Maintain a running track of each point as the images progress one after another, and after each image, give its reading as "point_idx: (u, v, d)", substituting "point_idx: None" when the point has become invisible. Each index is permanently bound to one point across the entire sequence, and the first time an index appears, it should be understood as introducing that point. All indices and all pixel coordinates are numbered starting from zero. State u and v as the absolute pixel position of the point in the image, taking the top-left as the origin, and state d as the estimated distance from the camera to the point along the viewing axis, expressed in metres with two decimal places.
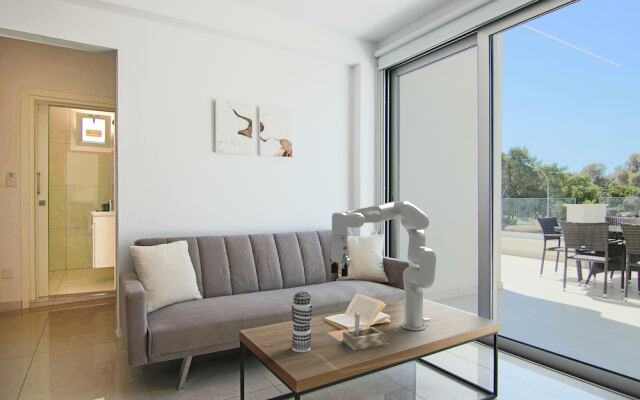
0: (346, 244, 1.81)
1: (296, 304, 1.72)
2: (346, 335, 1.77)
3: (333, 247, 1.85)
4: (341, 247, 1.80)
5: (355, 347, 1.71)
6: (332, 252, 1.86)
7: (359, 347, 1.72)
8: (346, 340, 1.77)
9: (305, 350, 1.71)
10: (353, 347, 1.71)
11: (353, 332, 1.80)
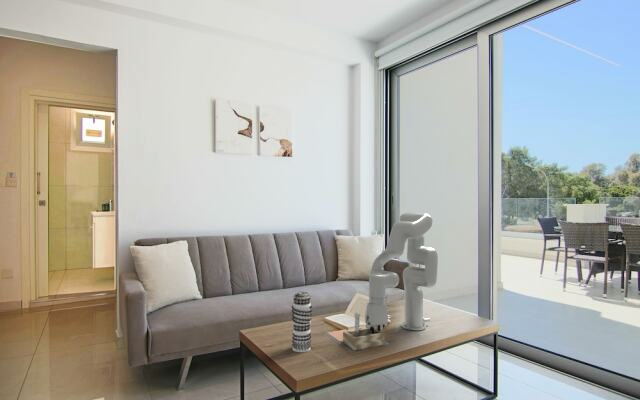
0: None
1: (296, 304, 1.72)
2: (346, 335, 1.77)
3: (377, 311, 1.79)
4: (386, 307, 1.82)
5: (355, 347, 1.71)
6: (375, 316, 1.78)
7: (359, 347, 1.72)
8: (346, 340, 1.77)
9: (305, 350, 1.71)
10: (353, 347, 1.71)
11: (353, 332, 1.80)
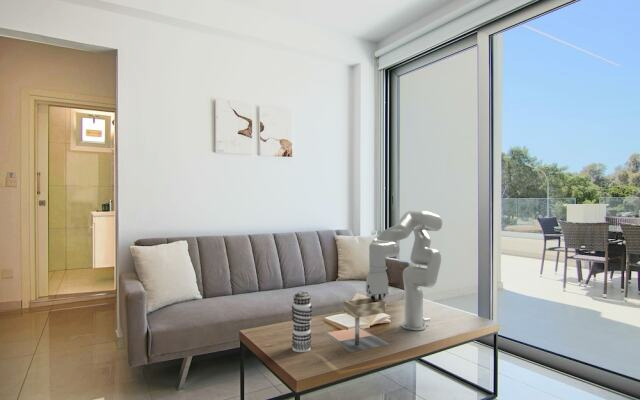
0: None
1: (296, 304, 1.72)
2: (347, 304, 1.77)
3: (378, 279, 1.79)
4: None
5: (356, 315, 1.71)
6: (375, 285, 1.78)
7: (360, 315, 1.72)
8: (347, 309, 1.77)
9: (305, 350, 1.71)
10: (354, 315, 1.71)
11: (354, 301, 1.80)
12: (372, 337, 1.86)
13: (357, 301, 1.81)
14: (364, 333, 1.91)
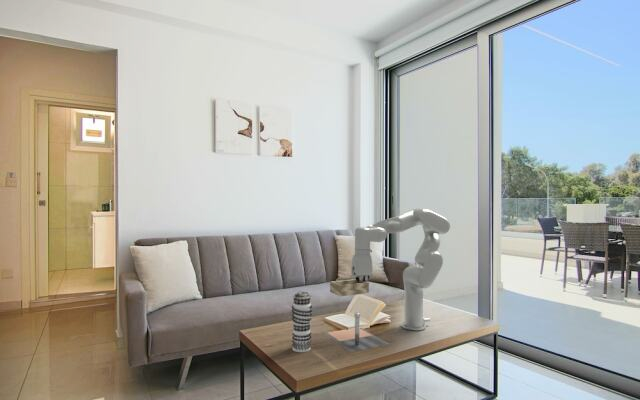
0: None
1: (296, 304, 1.72)
2: (333, 284, 1.88)
3: (362, 262, 1.90)
4: (371, 259, 1.94)
5: (341, 294, 1.82)
6: (360, 267, 1.90)
7: (344, 294, 1.83)
8: (332, 289, 1.88)
9: (305, 350, 1.71)
10: (339, 294, 1.83)
11: (340, 282, 1.92)
12: (372, 337, 1.86)
13: (343, 282, 1.92)
14: (364, 333, 1.91)
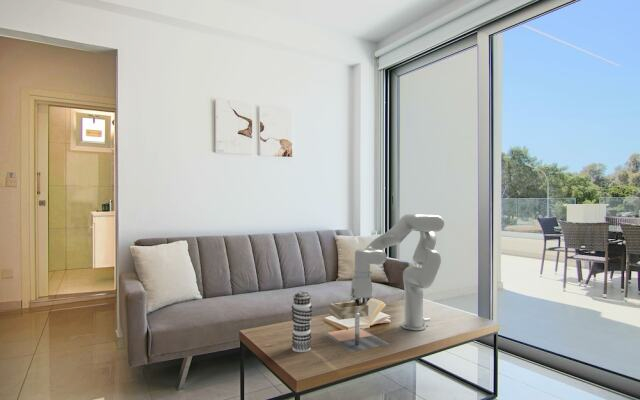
0: None
1: (296, 304, 1.72)
2: (332, 306, 1.88)
3: (362, 284, 1.90)
4: None
5: (340, 317, 1.82)
6: (359, 289, 1.90)
7: (344, 317, 1.83)
8: (332, 312, 1.88)
9: (305, 350, 1.71)
10: (338, 317, 1.83)
11: (339, 304, 1.92)
12: (372, 337, 1.86)
13: (342, 304, 1.92)
14: (364, 333, 1.91)
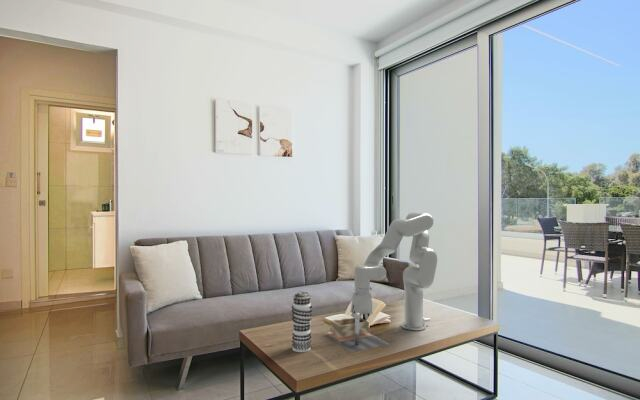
0: None
1: (296, 304, 1.72)
2: (333, 323, 1.88)
3: (362, 300, 1.90)
4: None
5: (341, 334, 1.82)
6: (360, 306, 1.90)
7: (344, 334, 1.83)
8: (332, 329, 1.89)
9: (305, 350, 1.71)
10: (339, 334, 1.83)
11: (339, 321, 1.92)
12: (372, 337, 1.86)
13: (343, 321, 1.93)
14: (364, 333, 1.91)
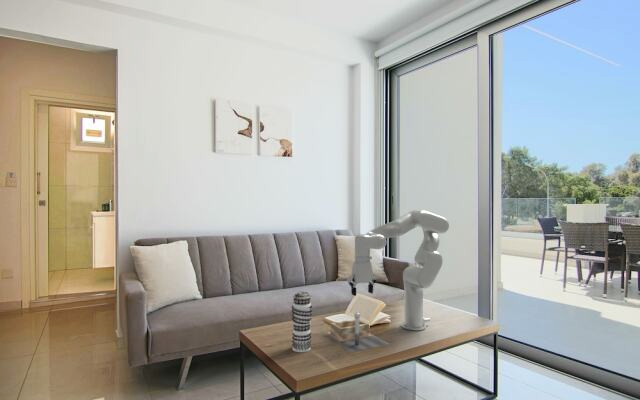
0: None
1: (296, 304, 1.72)
2: (333, 326, 1.88)
3: (362, 269, 1.90)
4: (371, 266, 1.94)
5: (341, 337, 1.83)
6: (360, 274, 1.90)
7: (345, 337, 1.83)
8: (333, 331, 1.89)
9: (305, 350, 1.71)
10: (339, 337, 1.83)
11: (340, 323, 1.92)
12: (372, 337, 1.86)
13: (343, 323, 1.93)
14: None
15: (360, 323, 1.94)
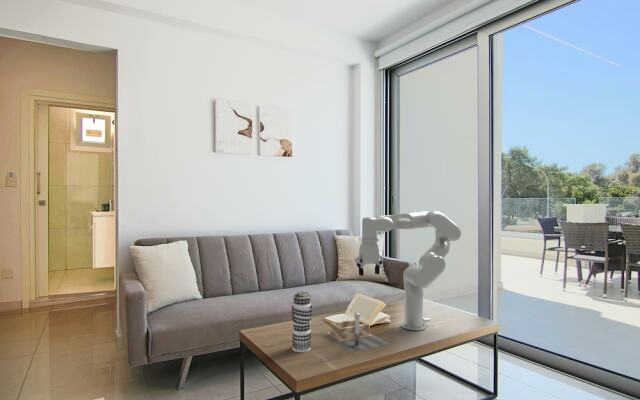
0: None
1: (296, 304, 1.72)
2: (333, 326, 1.88)
3: (369, 250, 1.97)
4: (378, 248, 2.00)
5: (341, 337, 1.83)
6: (367, 255, 1.96)
7: (345, 337, 1.83)
8: (333, 331, 1.89)
9: (305, 350, 1.71)
10: (339, 337, 1.83)
11: (340, 323, 1.92)
12: (372, 337, 1.86)
13: (343, 323, 1.93)
14: None
15: (360, 323, 1.94)
